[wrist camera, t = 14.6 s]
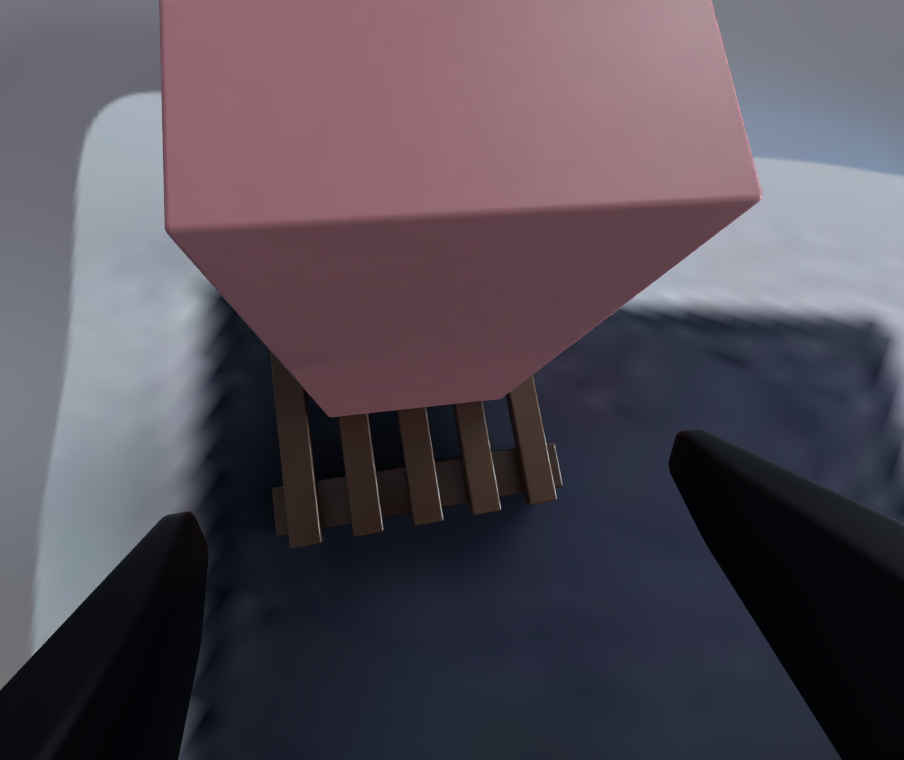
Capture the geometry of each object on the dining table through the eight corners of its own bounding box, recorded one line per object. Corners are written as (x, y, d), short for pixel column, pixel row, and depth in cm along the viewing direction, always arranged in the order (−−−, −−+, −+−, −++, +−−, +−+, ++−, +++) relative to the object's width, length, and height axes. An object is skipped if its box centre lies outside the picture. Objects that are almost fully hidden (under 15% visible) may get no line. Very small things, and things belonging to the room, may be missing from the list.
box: (501, 399, 18) (767, 199, 5) (328, 418, 17) (161, 232, 5) (474, 217, 19) (638, -287, 7) (312, 226, 18) (148, -334, 6)
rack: (545, 495, 21) (571, 498, 18) (290, 541, 19) (273, 551, 16) (493, 223, 23) (508, 184, 20) (260, 244, 21) (240, 206, 18)
